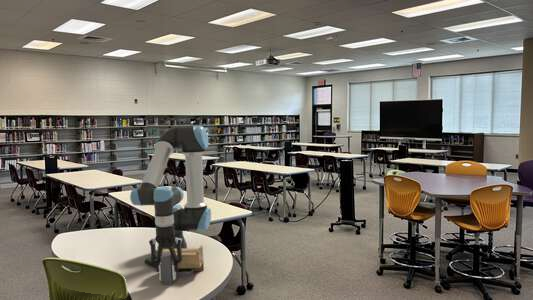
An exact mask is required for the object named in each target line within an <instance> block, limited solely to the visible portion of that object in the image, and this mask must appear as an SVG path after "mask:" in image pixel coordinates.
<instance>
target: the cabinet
mask: <svg viewBox="0 0 533 300" xmlns="http://www.w3.org/2000/svg"><path fill="white" fill-rule="evenodd" d="M203 246H204V245H199V247H198V248H195V247H193V248H188V247H187V249H182V261H181V262H180V263H178V270H179V269H180V268H194V272H198V271H199V272H202V271H204V270H205V266H204V265H205V264H204V262H205V261H204V247H203ZM174 250H175V253H176V256H177V249H174ZM165 253H170V250H169V249H163V252H162V255H163V254H165ZM177 259H178V256H177ZM160 263H161V262H160Z"/></svg>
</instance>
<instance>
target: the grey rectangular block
mask: <svg viewBox="0 0 533 300" xmlns="http://www.w3.org/2000/svg"><path fill="white" fill-rule="evenodd" d="M160 258H161V275H162V280H161V285H162V286H172V285H173V283H174V282H175V280H173V274H172V264H173V260H172V257H171V253H165V254H163V255H162V256H161V257H160ZM176 276H177V272H176Z"/></svg>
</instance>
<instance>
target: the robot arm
mask: <svg viewBox="0 0 533 300" xmlns="http://www.w3.org/2000/svg"><path fill="white" fill-rule="evenodd" d="M208 135H209V134H208V133H207V131H206V129H205V127H203V126H201V125H187V126H185V125H184V126H172V127H170V128H168V129H167V130H165V131H164V132H163V133H162V134H161V135H160V136H159V138H158V139H157V140H156V142H155V144H154V152H153V154H152V157H151V159H150V162H149V165H148V166H147V169H146V171H145V174H144V177H143V179H142V181H141V183H140V185H139V188H138V187H136V188H133V189H132V190H131V191H130V196H129V199H130V202H131V204H132V205H134V206H141V207H142V206H154V223H155V238H151V239H149V242H148V243H149V246H150V258H151V261H152V263H154V264H156V267H157V269H156V272H157V273H158V277H159V281H162V275H161V263H160V262H161V258H160V257H161V256H162V252H163V249H169V250H170V253H171V257H172V260H173V264H172V274H173V280H174V281H175V280H176V279H177V275H176V272H177V271H178V263H180V262H181V261H182V249H187V248H188V244H187V242H186V239H185V237H184V232H205V231H207V230H208V229H209V226H210V224H211V220H212V210H211V208H209V207H208V204H207V202H205V196H204V173H203V170H204V169H203V154H205V153H206V149H208V148H209V137H208ZM175 150H181V153H182V154H183V155H184V158H185V159H184V160H185V184H186V185H185V186H186V203H185V204H184V205H183V206H182V205H180V203H181V202H182V200H183V199H184V197H185V195H184V194H185V193H184V191H183V189H182V188H181V187H179V186H171V187H169V186H160V187H159V185H160V182H161V180H162V177H163V176H164V175H163V174H164V173H165V170H166V166H167V164H168V162H169V160H170V156H171V155H172V154H174V152H175ZM183 207H184V208H183ZM156 243H157V249H156ZM174 249H177V256H178V259H177V256H176V253H175V250H174ZM156 250H157V251H156ZM156 255H157V260H156Z"/></svg>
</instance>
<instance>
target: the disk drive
mask: <svg viewBox="0 0 533 300" xmlns="http://www.w3.org/2000/svg"><path fill="white" fill-rule="evenodd" d="M157 255H158V254H156V260H157ZM144 264H146V265H148V266H150V267H152V268H153V269H155V270H157V267H156V264H154V263H152V261H151V257H147V258H145V260H144Z"/></svg>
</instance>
